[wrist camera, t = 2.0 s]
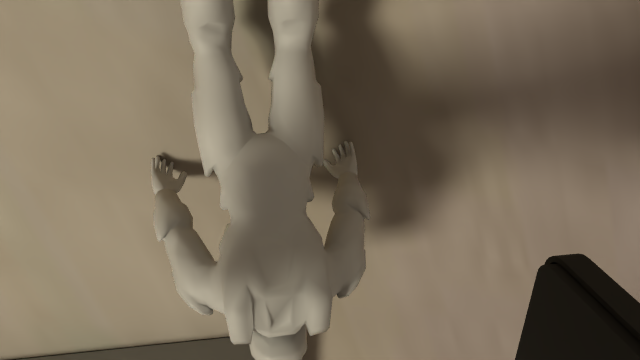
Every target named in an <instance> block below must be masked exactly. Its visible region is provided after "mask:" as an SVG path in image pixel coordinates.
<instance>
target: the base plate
mask: <svg viewBox="0 0 640 360" xmlns="http://www.w3.org/2000/svg"><path fill="white" fill-rule="evenodd" d="M18 360H255V359H254V357H253V356H252V354H251V350H250V345H249V344H233V343H232V342H231V340H230V337H228V338H219V339H209V340H200V341H190V342H180V343H171V344H161V345H152V346H142V347H133V348H123V349H114V350H104V351H94V352H85V353H75V354H66V355H56V356H47V357H37V358H28V359H18Z"/></svg>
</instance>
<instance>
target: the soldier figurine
mask: <svg viewBox="0 0 640 360" xmlns="http://www.w3.org/2000/svg"><path fill="white" fill-rule="evenodd" d="M180 3H181V9H182V15H183V21H184V24H185V27H186V29H187V31H188V34H189V42H190V43H191V45H192V48H193V51H194V54H195V56H194V62H193V74H194V90H193V92H192V93H191V95H192V106H193V117H194V128H195V132H196V137H197V142H198V146H199V151H200V155H201V160H202V165H203V169H204V174H205V176H208V177H209V176H210V175H211V173H212V171H213V170H214V171H215V173H216V175H217V177H218V179H219V182H220V185H221V194H220V207H221V208H222V210H228V212H229V214H230V217H231V223H229V224H227V227H226V229H225V232H224V235H223V237H222V240H221V242H220V245H219V251H220V254H221V255H220V257H219V260H218V262H216V261H214V259H213V257H212V256H211V254H210V252H209V251H208V249H207V248H206V246H205V245H204V243H203V242H202V240H201V238H200V237H199V235H198V234H197V232H196V231H195V230H194V229H193V217H192V215H191V213H190V211H189V209H188V207H187V206H186V205H185V204H183V203H182V202H181V201H180V199H179V197H178V195H177V194H176V193H177V192H179V191H180V189H181V188H182V186H183V184H184V182H185V179H186V172H185V171H183V172H182V173H181V174H180V176H179V178H178V179H175V178H173V174H172V172H173V166H174V163H173V162H170V164H169V167H168V170H167V174H166V159H163V160H162V164H161V172H160V168H159V161H160V157H159V156H156V160H155V158H152V159H151V184H152V188H153V191H154V194H156V196H155V210H154V214H153V221H154V229H155V231H156V236H157V240H158V241H159V242H160V241H161V240H162V241H164V242H165V249H166V252H167V255H168V258H169V261H170V264H171V267H172V270H173V271H172V276H173V280H174V283H175V286H176V290H177V292H178V294H179V295H180V297H181V298H182V299H183V300H184V301H185V302H186V303H187V305H188V306H189V307H190V308H192V309H194V310H195V311H197V312H199V313H200V314H202V315H211V314H213V309H214V310H217V311H219V312H221V313H223V314H224V315H225V316H226V321H227V326H228V331H229V335H230V340H231V342H232V343H233V344H249V345H250V350H251V354H252V356H253V357H254V359H255V360H302V357H303V355H304V354H305V353H306V350H307V329H308V332H309V335H310V336H312V335H315V334H319V333H323V332H326V331H327V329H328V328H329V326H330V317H331V307H332V298H333V297H334V296H335V295H336V294H337V296H338V298H343V297H347V296H349V295H350V294H351V292H352V291H353V290H354V289H355V288H356V287H357V285H358V283H359V281H360V279H361V277H362V275H363V273H364V271H365V269H366V260H365V250H364V219H365V218H366V219H368V220H369V219H370V212H369V205H368V200H367V196H366V193H365V192H364V190H363V189H362V187H361V184H360V182H359V180H358V177H357V175H358V170H357V161H356V154H355V150H354V145H353V143H352V142H350V143H349V145H350V148H349V145H348V142H347V141H345V142H344V145H345V149H346V155H345V152H344V149H343V147H342V145H339V147H338V148H339V151H340V155H341V159H340V157H339V155H338V153H337V151H336V150H335V149H334V148H333V149H332V152H333V155H334V157H335V161H336V164H335V165H331V163H330V162H329V161H328V160H327V159H325V160H323V148H324V109H323V100H322V90H321V85H320V84H319V83H318V82H317V81H316V75H315V67H314V59H313V55H312V50H311V43H312V39H313V34H314V30H315V27H316V24H317V20H318V12H319V0H268V18H269V21H270V24H271V27H272V30H273V35H274V45H275V57H274V61H273V64H272V68H271V71H270V75H269V80H271V81H272V91H271V108H270V114H269V119H268V120H269V130H268V131H267V132H266V133H261V134H256V133H255V132H254V131H253V128H252V122H251V119H250V116H249V114H248V111H247V108H246V106H245V103H244V99H243V94H242V90H241V86H240V82H241V81H242V80H243V77H242V75H241V73H240V71H239V69H238V67H237V65H236V63H235V61H234V59H233V57H232V53H231V39H232V30H233V25H234V20H235V15H234V7H233V0H180ZM323 163H324V166H325V167H326V169H327V170H328V171H329V172H330V174H331V175H332V176H333V177H335V178H339V180H338V184H337V188H336V191H335V193H334V197H333V201H332V207H333V211H334V212H335V215H334V217H333V219H332V221H331V224H330V227H329V231H328V234H327V237H326V242H325V246H323V243H322V237H321V236H320V234H319V233H318V231H317V229H316V228H315V226H314V225H313V223H312V222H311V220H310V219H309V218H308V217H307V214H306V204H307V202H310V201H312V200H313V198H314V194H313V190H312V186H311V182H310V174H311V169H312V166H313V164H314V165H315V166H316V167H320V166H323Z"/></svg>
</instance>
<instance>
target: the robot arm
mask: <svg viewBox="0 0 640 360" xmlns="http://www.w3.org/2000/svg"><path fill="white" fill-rule="evenodd" d="M515 360H640V303H639V302H638V301H637V300H635V299H634V298H633V297H632V296H631V295H630V294H629V293H627V292H626V291H625V290H624V289H623V288H622V287H621V286H620V285H618V284H617V283H616V282H615V281H614V280H613V279H612V278H611V277H609V276H608V275H607V274H606V273H605V272H604V271H603V270H602V269H600V268H599V267H598V266H597V265H596V264H595V263H594V262H592V261H591V260H590V259H589V258H588V257H586V256H585V255H583V254H570V255H559V256H552V257H549V258H548V259H547V260H546V262H545V264H544V265H542V266H541V267H540V268H539V269H538V272H537V276H536V280H535V283H534V287H533V291H532V295H531V299H530V303H529V307H528V311H527V315H526V319H525V323H524V326H523V330H522V334H521V338H520V342H519V346H518V350H517V354H516V358H515Z"/></svg>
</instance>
